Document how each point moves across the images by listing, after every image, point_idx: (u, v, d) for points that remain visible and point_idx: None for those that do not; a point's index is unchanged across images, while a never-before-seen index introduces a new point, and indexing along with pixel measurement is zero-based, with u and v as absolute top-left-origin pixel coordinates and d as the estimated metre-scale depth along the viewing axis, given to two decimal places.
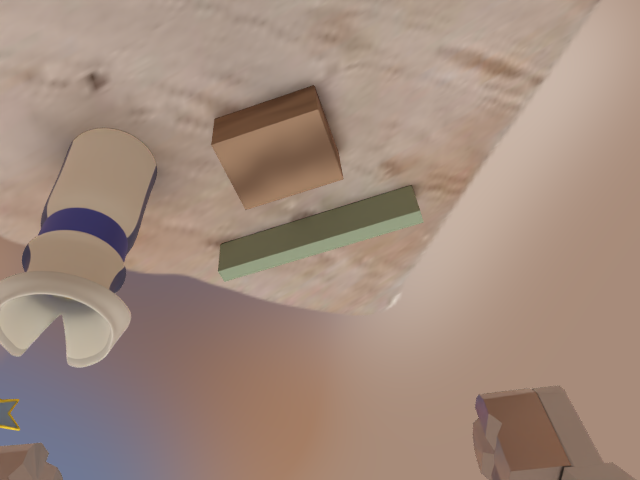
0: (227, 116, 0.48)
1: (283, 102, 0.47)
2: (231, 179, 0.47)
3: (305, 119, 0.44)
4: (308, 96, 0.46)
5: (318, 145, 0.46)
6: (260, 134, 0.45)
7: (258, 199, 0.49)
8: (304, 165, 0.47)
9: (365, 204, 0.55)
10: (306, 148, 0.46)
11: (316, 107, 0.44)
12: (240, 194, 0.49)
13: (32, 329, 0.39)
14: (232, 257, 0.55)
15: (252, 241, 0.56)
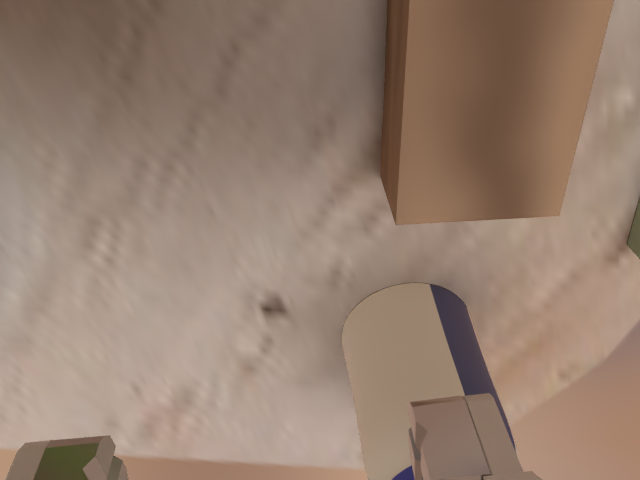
0: (382, 157, 0.26)
1: (390, 53, 0.23)
2: (481, 217, 0.24)
3: (423, 32, 0.19)
4: None
5: (497, 24, 0.19)
6: (414, 136, 0.22)
7: (551, 186, 0.23)
8: (527, 71, 0.20)
9: None
10: (490, 53, 0.20)
11: None
12: (519, 213, 0.24)
13: None
14: None
15: None
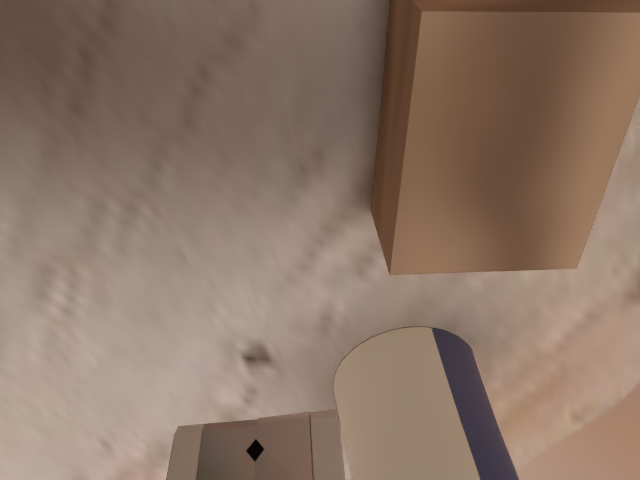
0: (374, 190, 0.23)
1: (390, 74, 0.19)
2: (488, 268, 0.21)
3: (436, 55, 0.16)
4: (399, 11, 0.18)
5: (524, 49, 0.16)
6: (417, 176, 0.18)
7: (571, 236, 0.20)
8: (556, 106, 0.17)
9: None
10: (515, 83, 0.17)
11: (418, 11, 0.15)
12: (532, 264, 0.21)
13: None
14: None
15: None
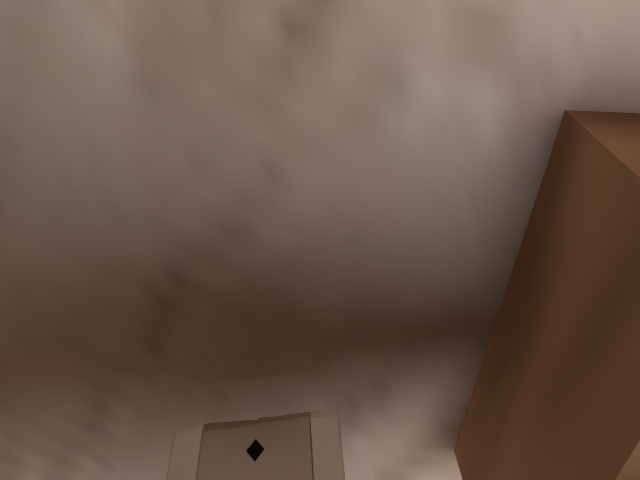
0: (467, 431, 0.13)
1: (545, 290, 0.10)
2: None
3: None
4: (600, 193, 0.08)
5: None
6: None
7: None
8: None
9: None
10: None
11: None
12: None
13: None
14: None
15: None
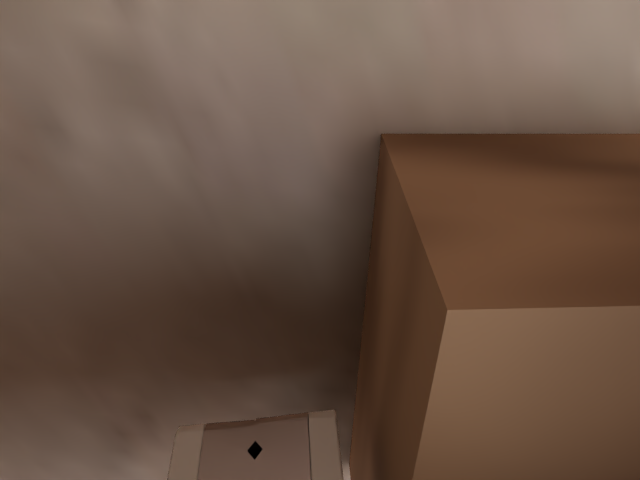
0: (353, 448, 0.13)
1: (378, 313, 0.10)
2: None
3: (479, 386, 0.06)
4: (395, 219, 0.08)
5: None
6: None
7: None
8: None
9: None
10: None
11: (438, 294, 0.06)
12: None
13: None
14: None
15: None
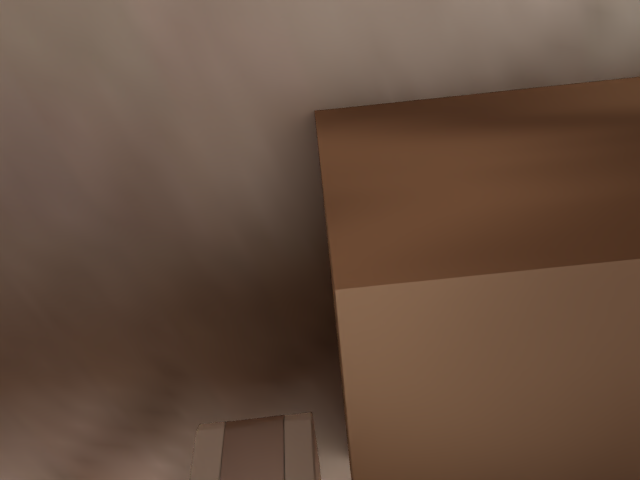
0: None
1: None
2: None
3: (396, 372, 0.06)
4: None
5: None
6: None
7: None
8: None
9: None
10: (617, 398, 0.06)
11: (333, 274, 0.06)
12: None
13: None
14: None
15: None
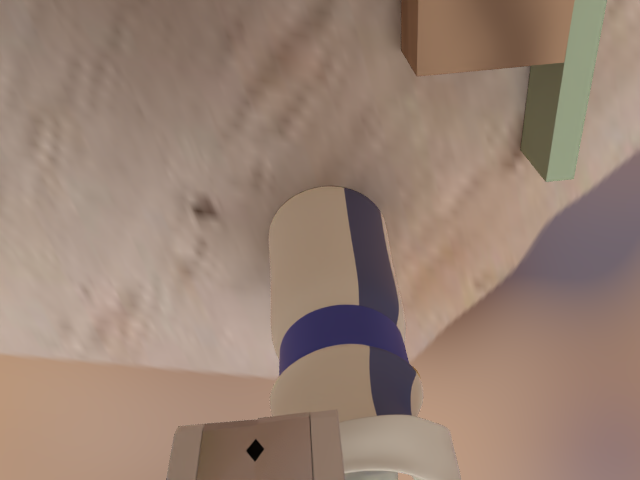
0: (402, 28, 0.29)
1: None
2: (493, 66, 0.27)
3: None
4: None
5: None
6: None
7: (555, 31, 0.26)
8: None
9: None
10: None
11: None
12: (527, 61, 0.27)
13: None
14: (539, 146, 0.31)
15: (534, 100, 0.31)
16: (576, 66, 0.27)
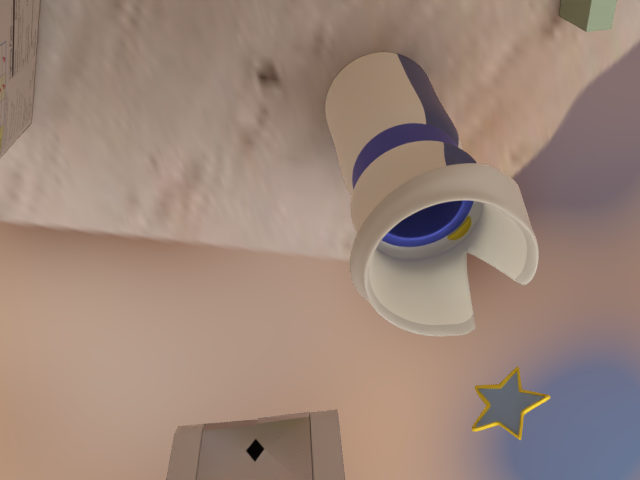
0: None
1: None
2: None
3: None
4: None
5: None
6: None
7: None
8: None
9: None
10: None
11: None
12: None
13: (456, 293, 0.28)
14: (579, 1, 0.34)
15: None
16: None
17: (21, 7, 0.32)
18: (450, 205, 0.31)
